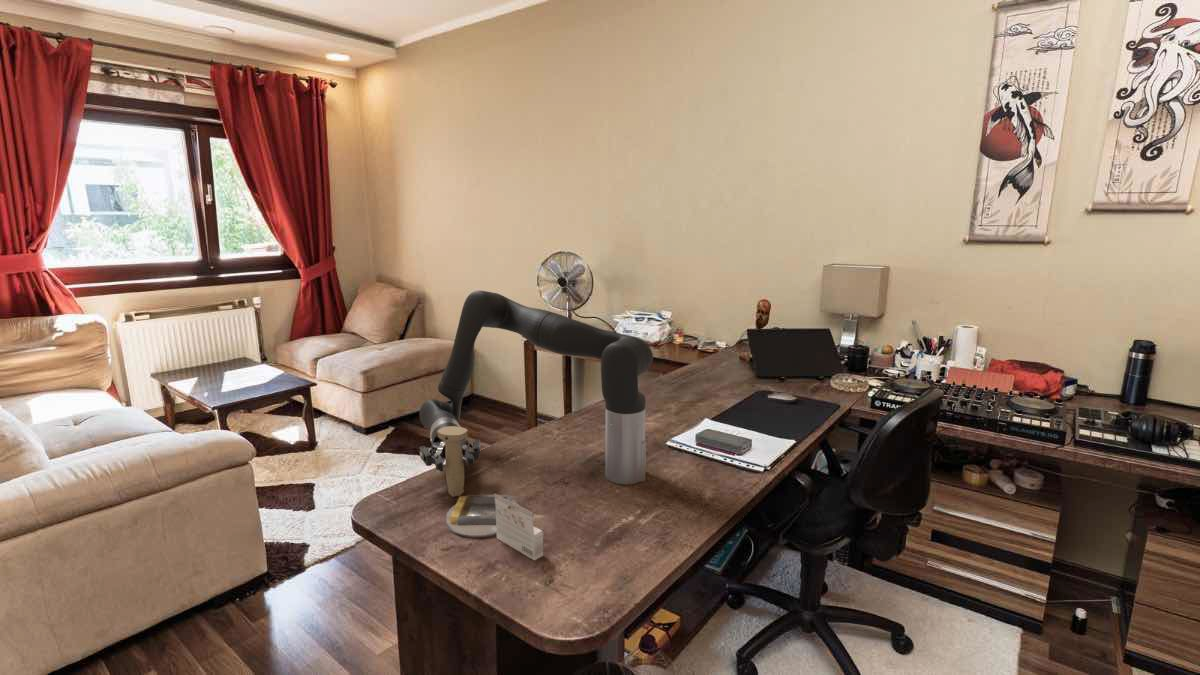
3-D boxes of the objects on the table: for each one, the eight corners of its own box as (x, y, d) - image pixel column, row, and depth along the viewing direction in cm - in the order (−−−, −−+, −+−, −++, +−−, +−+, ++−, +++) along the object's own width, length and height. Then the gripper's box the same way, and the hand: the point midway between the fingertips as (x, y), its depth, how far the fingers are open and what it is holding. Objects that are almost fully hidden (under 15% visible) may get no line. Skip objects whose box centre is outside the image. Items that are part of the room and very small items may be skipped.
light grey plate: (524, 498, 126) (524, 488, 126) (515, 537, 112) (515, 525, 111) (456, 499, 126) (455, 488, 126) (438, 537, 111) (437, 526, 111)
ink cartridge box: (505, 533, 113) (503, 488, 111) (544, 556, 106) (543, 507, 104) (495, 539, 111) (493, 492, 109) (534, 562, 104) (532, 513, 102)
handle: (449, 486, 132) (445, 425, 128) (474, 491, 130) (471, 428, 126) (437, 496, 127) (433, 432, 124) (463, 501, 125) (459, 436, 122)
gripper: (414, 426, 137) (419, 454, 121) (476, 418, 141) (488, 444, 126) (417, 455, 138) (422, 487, 123) (477, 446, 143) (489, 476, 128)
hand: (455, 465), depth 124 cm, fingers open, 5 cm apart
